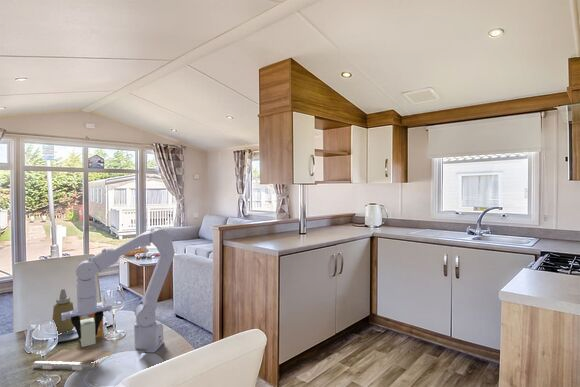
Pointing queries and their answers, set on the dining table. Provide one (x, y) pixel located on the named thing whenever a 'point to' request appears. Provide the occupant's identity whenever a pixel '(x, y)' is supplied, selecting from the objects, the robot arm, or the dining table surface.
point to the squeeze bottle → (62, 307)
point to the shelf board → (73, 359)
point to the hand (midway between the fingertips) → (87, 335)
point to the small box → (100, 329)
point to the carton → (87, 332)
